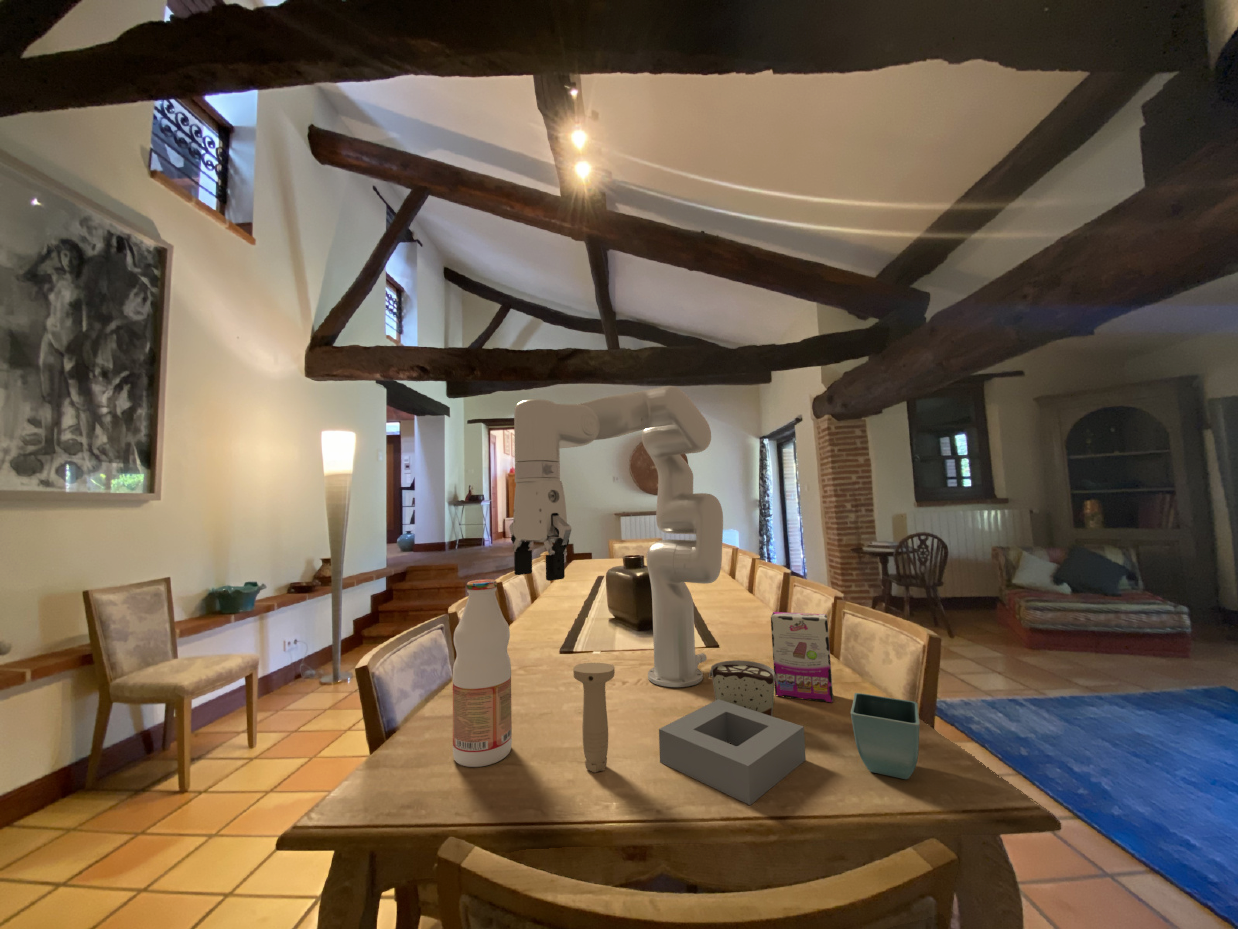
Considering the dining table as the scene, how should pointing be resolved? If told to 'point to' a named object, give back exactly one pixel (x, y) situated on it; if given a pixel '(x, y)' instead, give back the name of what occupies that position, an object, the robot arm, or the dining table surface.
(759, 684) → the food container
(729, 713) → the well block
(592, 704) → the handle
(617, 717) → the dining table surface
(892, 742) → the flower pot
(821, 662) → the candy bar box
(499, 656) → the fruit juice
